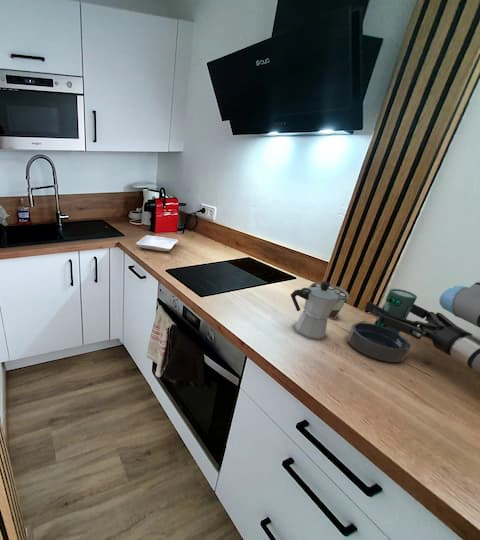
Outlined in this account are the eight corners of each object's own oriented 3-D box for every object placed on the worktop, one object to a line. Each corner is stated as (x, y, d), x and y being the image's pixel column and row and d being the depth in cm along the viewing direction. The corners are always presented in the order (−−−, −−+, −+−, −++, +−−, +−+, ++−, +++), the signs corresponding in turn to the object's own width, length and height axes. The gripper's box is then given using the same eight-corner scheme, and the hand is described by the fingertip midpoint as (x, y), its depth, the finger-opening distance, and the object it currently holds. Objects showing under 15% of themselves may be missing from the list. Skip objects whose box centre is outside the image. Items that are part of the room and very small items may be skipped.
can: (372, 325, 99) (390, 286, 93) (395, 332, 95) (415, 292, 89) (372, 333, 94) (390, 293, 88) (396, 341, 91) (417, 300, 85)
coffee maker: (325, 327, 97) (343, 279, 90) (336, 342, 89) (357, 292, 82) (277, 320, 100) (291, 273, 93) (284, 334, 92) (300, 285, 85)
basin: (393, 342, 90) (399, 329, 88) (411, 369, 79) (419, 355, 77) (342, 331, 95) (347, 318, 93) (353, 355, 84) (359, 341, 82)
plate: (146, 239, 184) (146, 234, 183) (178, 244, 177) (179, 239, 175) (134, 248, 166) (135, 243, 165) (170, 254, 159) (170, 248, 157)
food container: (346, 316, 104) (356, 292, 100) (339, 321, 100) (349, 296, 96) (310, 302, 113) (318, 279, 109) (302, 306, 110) (310, 283, 106)
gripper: (413, 359, 75) (347, 315, 94) (495, 355, 77) (414, 313, 97) (426, 335, 72) (355, 295, 92) (511, 332, 74) (424, 294, 94)
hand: (385, 304), depth 94 cm, fingers open, 13 cm apart
